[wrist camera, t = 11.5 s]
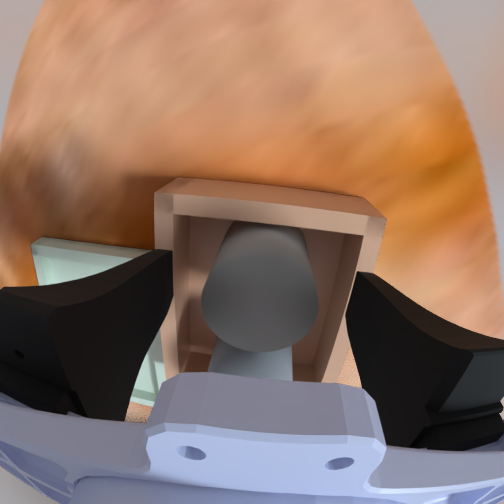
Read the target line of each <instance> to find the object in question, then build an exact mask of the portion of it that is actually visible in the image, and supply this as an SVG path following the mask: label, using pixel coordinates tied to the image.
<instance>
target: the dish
mask: <svg viewBox="0 0 504 504" xmlns="http://www.w3.org/2000/svg"><path fill="white" fill-rule="evenodd" d="M235 220H240V221H249V222H258V223H267V224H276V225H285V226H293V227H300V229H301V231H302V232H303V235H304V237H305V241H306V245H307V250H308V254H309V258H310V263H311V267H312V272H313V276H314V281H315V285H316V290H317V295H318V300H319V308H318V314H317V318H316V320H315V323H314V325H313V326H312V328H311V329H310V331H309V332H308V333H307V334H306V335H305V336H304V337H303V338H302V339H301V340H299V341H298V342H296V343H295V344H293V345H292V377H293V381H301V382H320V383H336V382H337V380H338V377H339V374H340V372H341V369H342V367H343V364H344V361H345V359H346V356H347V353H348V350H349V348H350V341H349V338H348V333H347V327H346V319H345V313H346V309H347V306H348V302H349V299H350V295H351V291H352V288H353V284H354V280H355V276H356V273H357V271H361V272H370V273H373V272H374V268H375V265H376V261H377V257H378V253H379V250H380V246H381V242H382V238H383V233H384V229H385V225H386V221H387V218H385V217H384V216H383V215H382V214H381V213H380V212H379V211H378V210H377V209H376V208H375V207H374V206H373V205H372V204H371V203H370V202H368V201H367V200H366V199H365V198H359V197H353V196H347V195H340V194H333V193H326V192H319V191H312V190H304V189H296V188H288V187H280V186H271V185H262V184H253V183H243V182H232V181H221V180H209V179H196V178H182V177H177V178H176V179H174V180H173V181H171V182H170V183H168V184H166V185H165V186H163V187H162V188H160V189H159V190H157V191H156V192H154V234H155V249H164V250H172V251H173V287H174V296H173V299H172V302H171V305H170V308H169V311H168V314H167V316H166V318H165V320H164V322H163V324H162V326H161V327H160V332H161V342H162V351H163V360H164V368H165V376H166V380H168V379H170V378H172V377H174V376H175V375H177V374H179V373H192V372H208V368H209V365H210V361H211V357H212V354H213V350H214V346H215V343H216V339H217V335H216V334H215V333H214V332H213V331H212V330H211V329H210V327H209V326H208V324H207V322H206V320H205V318H204V316H203V312H202V308H201V295H202V290H203V288H204V285H205V282H206V280H207V278H208V275H209V273H210V270H211V268H212V266H213V263H214V261H215V258H216V256H217V254H218V251H219V249H220V246H221V244H222V242H223V239H224V237H225V235H226V232H227V231H228V229H229V227H230V226H231V225H232V223H233V222H234V221H235Z"/></svg>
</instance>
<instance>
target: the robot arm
mask: <svg viewBox="0 0 504 504" xmlns="http://www.w3.org/2000/svg"><path fill="white" fill-rule="evenodd" d="M173 296H174V287H173V251H172V250H164V249H155V250H152V251H150V252H147V253H145V254H143V255H140V256H138V257H136V258H134V259H132V260H129V261H127V262H125V263H123V264H120V265H118V266H115V267H113V268H110V269H108V270H105V271H103V272H100V273H97V274H94V275H91V276H87V277H84V278H80V279H76V280H71V281H66V282H62V283H56V284H49V285H41V286H27V287H3V288H2V289H1V290H0V466H1V467H2V468H4V469H5V470H7V471H8V472H9V473H11V474H13V475H14V476H15V477H17V478H18V479H20V480H21V481H23V482H24V483H26V484H27V485H29V486H31V487H32V488H34V489H35V490H37V491H39V492H40V493H42V494H44V495H46V496H47V497H49V498H51V499H53V500H54V501H56V502H58V503H60V504H497V503H499V502H501V501H503V500H504V420H502V418H501V416H500V414H499V413H501V412H502V411H503V405H502V404H501V402H500V401H501V399H502V398H503V397H504V340H502V339H498V338H493V337H489V336H486V335H482V334H479V333H476V332H473V331H470V330H468V329H465V328H463V327H460V326H458V325H456V324H453V323H451V322H449V321H447V320H445V319H443V318H441V317H439V316H437V315H435V314H433V313H432V312H430V311H428V310H426V309H425V308H423V307H422V306H420V305H418V304H417V303H415V302H414V301H412V300H411V299H409V298H408V297H407V296H405V295H404V294H402V293H401V292H400V291H398V290H397V289H395V288H394V287H393V286H391V285H390V284H389V283H387V282H386V281H384V280H383V279H381V278H380V277H378V276H377V275H375V274H373V273H370V272H361V271H357V273H356V276H355V280H354V284H353V288H352V291H351V295H350V299H349V302H348V306H347V309H346V313H345V319H346V327H347V333H348V338H349V341H350V345H351V348H352V352H353V355H354V358H355V362H356V365H357V369H358V372H359V376H360V380H361V385H362V388H358V387H353V386H348V385H344V384H339V383H320V382H301V381H287V380H274V379H263V378H254V377H245V376H236V375H228V374H221V373H214V372H192V373H179V374H177V375H175V376H174V377H172V378H170V379H168V380H166V381H164V382H162V384H161V387H160V390H159V392H158V395H157V398H156V400H155V403H154V406H153V408H152V411H151V414H150V416H149V419H148V422H147V423H139V422H124V420H125V417H126V413H127V409H128V405H129V402H130V398H131V395H132V392H133V389H134V386H135V382H136V380H137V377H138V374H139V371H140V368H141V365H142V363H143V361H144V358H145V356H146V354H147V352H148V350H149V348H150V346H151V344H152V343H153V341H154V339H155V337H156V335H157V333H158V331H159V329H160V327H161V326H162V324H163V322H164V320H165V318H166V316H167V314H168V311H169V308H170V305H171V302H172V299H173Z"/></svg>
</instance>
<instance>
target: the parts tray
mask: <svg viewBox="0 0 504 504" xmlns="http://www.w3.org/2000/svg"><path fill="white" fill-rule="evenodd" d="M31 249H32V254H33V259H34V264H35V269H36V273H37V278H38V282H39V286H41V285H49V284H56V283H62V282H66V281H71V280H76V279H80V278H84V277H87V276H91V275H94V274H97V273H100V272H103V271H105V270H108V269H110V268H113V267H115V266H118V265H120V264H123V263H125V262H127V261H129V260H132V259H134V258H136V257H138V256H140V255H143V254H145V253H147V252H150V251H152V250H144V249H136V248H127V247H119V246H111V245H103V244H95V243H87V242H79V241H71V240H64V239H56V238H48V237H41V238H39V239H38V240H36V241H34V242H33V243H31ZM164 381H166V376H165V368H164V360H163V351H162V342H161V332H160V329H159V331H158V333H157V335H156V337H155V339H154V341H153V343H152V344H151V346H150V348H149V350H148V352H147V354H146V356H145V358H144V361H143V363H142V365H141V368H140V371H139V374H138V377H137V380H136V382H135V386H134V389H133V392H132V395H131V398H130V401H131V402H135V403H139V404H143V405H147V406H152V407H153V406H154V403H155V400H156V398H157V395H158V392H159V390H160V387H161V384H162V382H164Z"/></svg>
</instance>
